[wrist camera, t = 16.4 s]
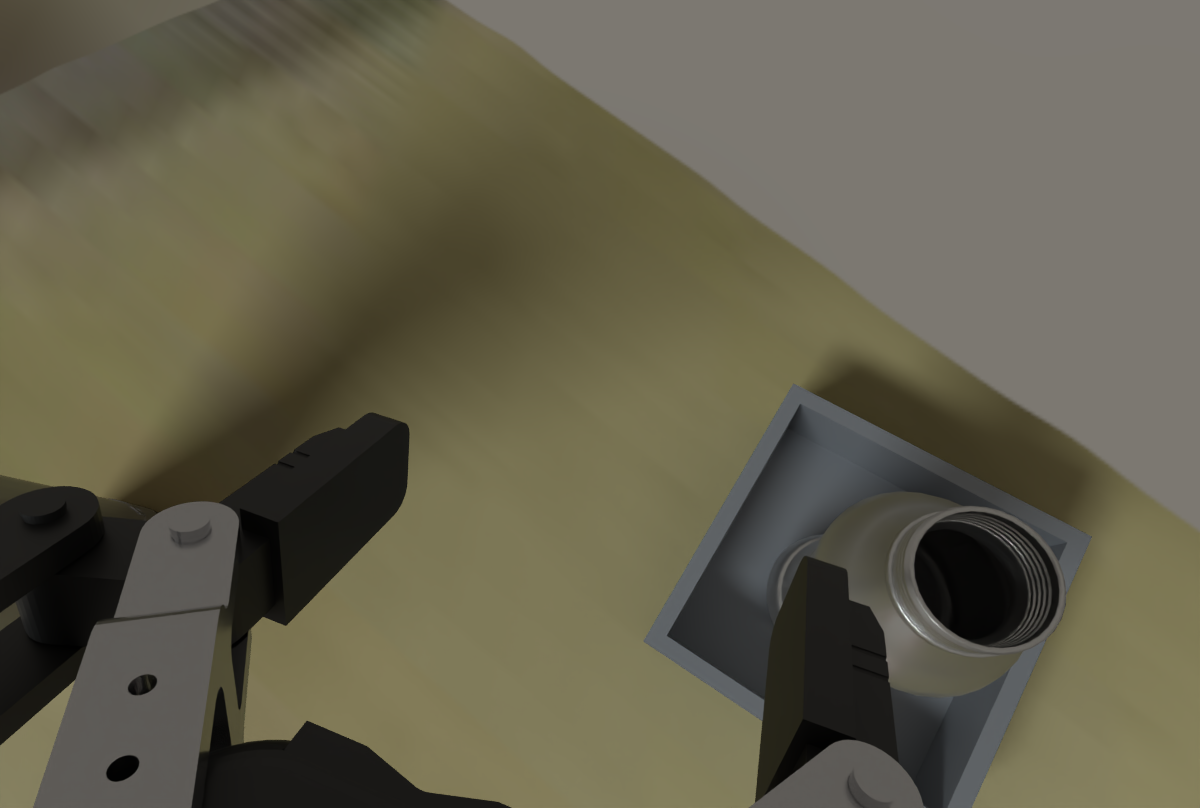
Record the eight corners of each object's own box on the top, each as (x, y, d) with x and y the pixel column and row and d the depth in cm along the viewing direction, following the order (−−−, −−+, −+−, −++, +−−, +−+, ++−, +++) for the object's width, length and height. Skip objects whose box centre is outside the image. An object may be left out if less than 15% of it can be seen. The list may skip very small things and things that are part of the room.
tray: (910, 813, 33) (953, 848, 28) (649, 639, 37) (643, 641, 32) (1033, 549, 36) (1091, 536, 31) (779, 415, 40) (793, 383, 35)
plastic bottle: (795, 517, 37) (910, 404, 18) (913, 584, 35) (1177, 536, 16) (738, 620, 36) (797, 615, 17) (857, 696, 34) (1074, 785, 15)
